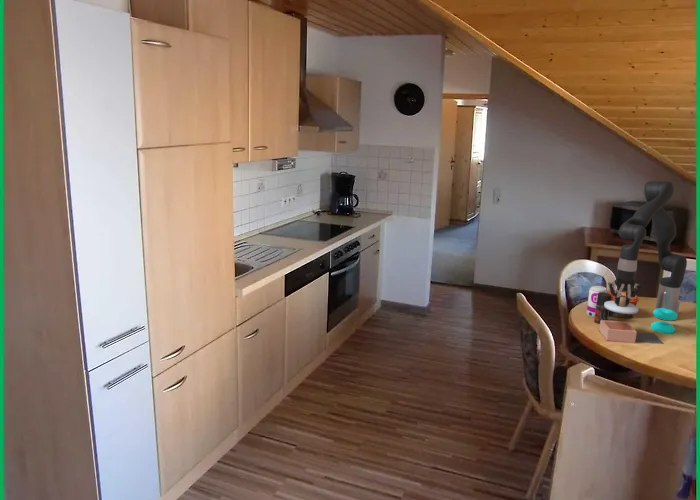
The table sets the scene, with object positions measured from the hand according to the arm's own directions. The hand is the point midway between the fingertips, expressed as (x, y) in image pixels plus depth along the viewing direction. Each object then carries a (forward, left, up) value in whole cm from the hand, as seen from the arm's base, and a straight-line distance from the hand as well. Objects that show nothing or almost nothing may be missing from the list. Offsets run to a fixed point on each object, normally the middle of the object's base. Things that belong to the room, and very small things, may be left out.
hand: (621, 304), depth 248 cm
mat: (-13, -2, -16) cm, 21 cm away
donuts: (-25, -14, -16) cm, 33 cm away
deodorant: (+2, -18, -16) cm, 24 cm away
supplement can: (+2, -28, -16) cm, 32 cm away
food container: (-11, -33, -16) cm, 38 cm away
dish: (0, 0, -16) cm, 16 cm away
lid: (0, 0, -2) cm, 2 cm away
